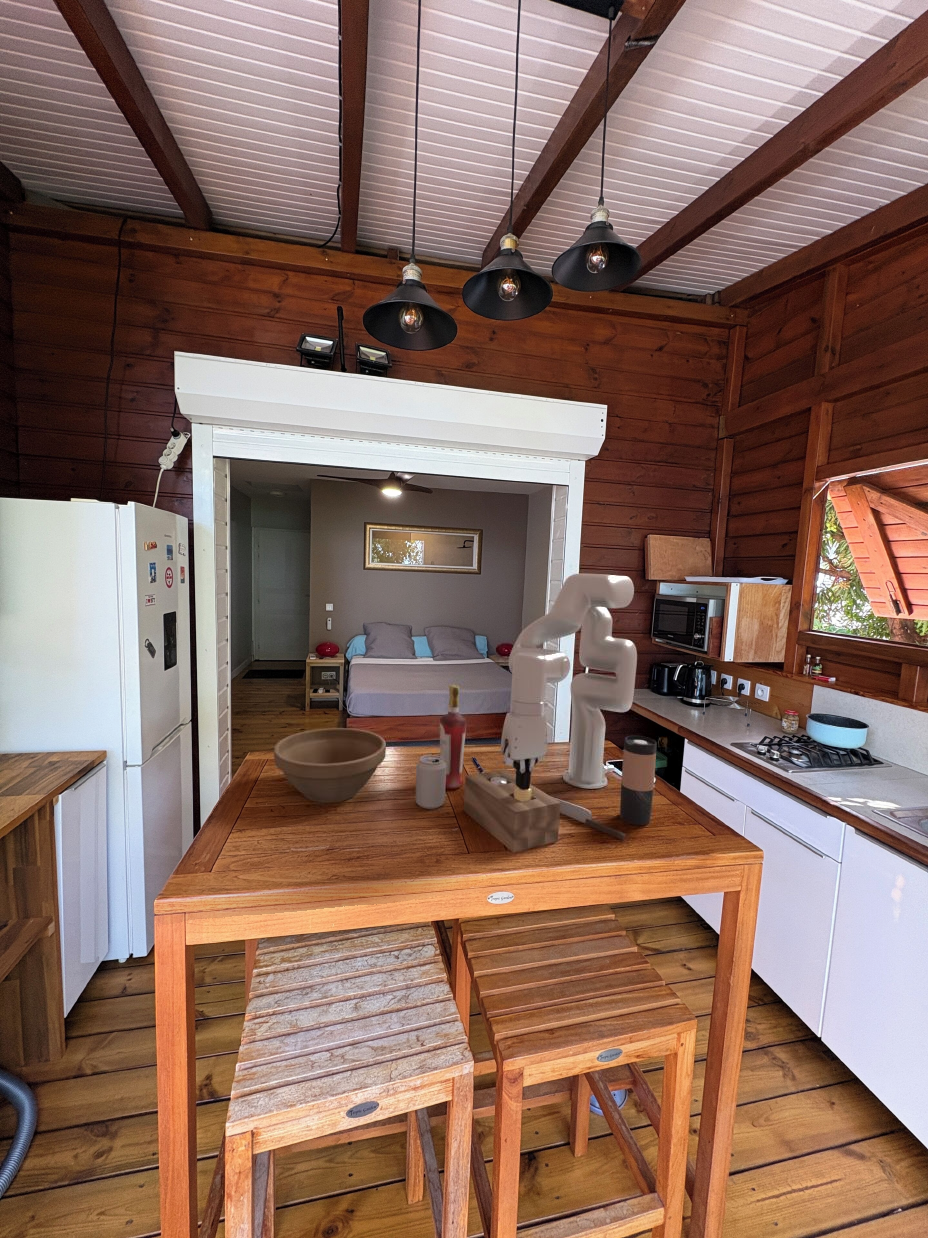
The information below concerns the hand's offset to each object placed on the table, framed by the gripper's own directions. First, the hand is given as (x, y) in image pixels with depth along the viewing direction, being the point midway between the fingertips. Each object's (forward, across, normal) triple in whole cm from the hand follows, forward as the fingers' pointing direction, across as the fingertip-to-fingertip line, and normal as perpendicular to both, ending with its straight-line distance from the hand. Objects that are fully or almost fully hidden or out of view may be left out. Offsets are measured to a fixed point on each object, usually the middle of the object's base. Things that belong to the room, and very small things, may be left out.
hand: (522, 787), depth 122 cm
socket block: (+11, 0, -5) cm, 12 cm away
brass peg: (+8, 0, 0) cm, 9 cm away
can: (+12, +12, -23) cm, 28 cm away
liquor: (+11, +2, -31) cm, 33 cm away
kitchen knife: (+12, -17, -3) cm, 21 cm away
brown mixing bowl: (+12, +33, -40) cm, 53 cm away
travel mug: (+11, -31, +5) cm, 34 cm away
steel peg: (+11, 0, -10) cm, 15 cm away
